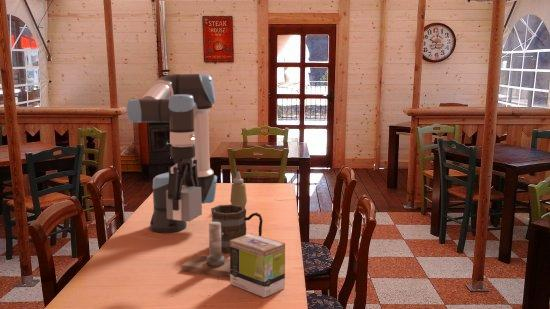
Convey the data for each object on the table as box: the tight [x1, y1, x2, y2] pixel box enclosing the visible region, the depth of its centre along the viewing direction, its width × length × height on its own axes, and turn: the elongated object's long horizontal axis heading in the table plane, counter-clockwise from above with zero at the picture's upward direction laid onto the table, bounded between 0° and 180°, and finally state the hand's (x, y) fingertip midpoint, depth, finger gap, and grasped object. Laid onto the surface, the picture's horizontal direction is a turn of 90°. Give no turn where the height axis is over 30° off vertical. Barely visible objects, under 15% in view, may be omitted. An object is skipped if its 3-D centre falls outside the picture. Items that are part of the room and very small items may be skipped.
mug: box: [210, 203, 264, 255], centre depth 187 cm, size 20×14×15 cm
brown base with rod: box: [181, 221, 230, 279], centre depth 167 cm, size 20×10×16 cm, turn 72°
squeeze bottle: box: [230, 171, 248, 208], centre depth 240 cm, size 8×8×18 cm
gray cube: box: [166, 185, 203, 222], centre depth 157 cm, size 8×8×9 cm
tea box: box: [229, 233, 286, 298], centre depth 154 cm, size 15×10×15 cm
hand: (184, 215), depth 158 cm, fingers closed on gray cube, 8 cm apart
